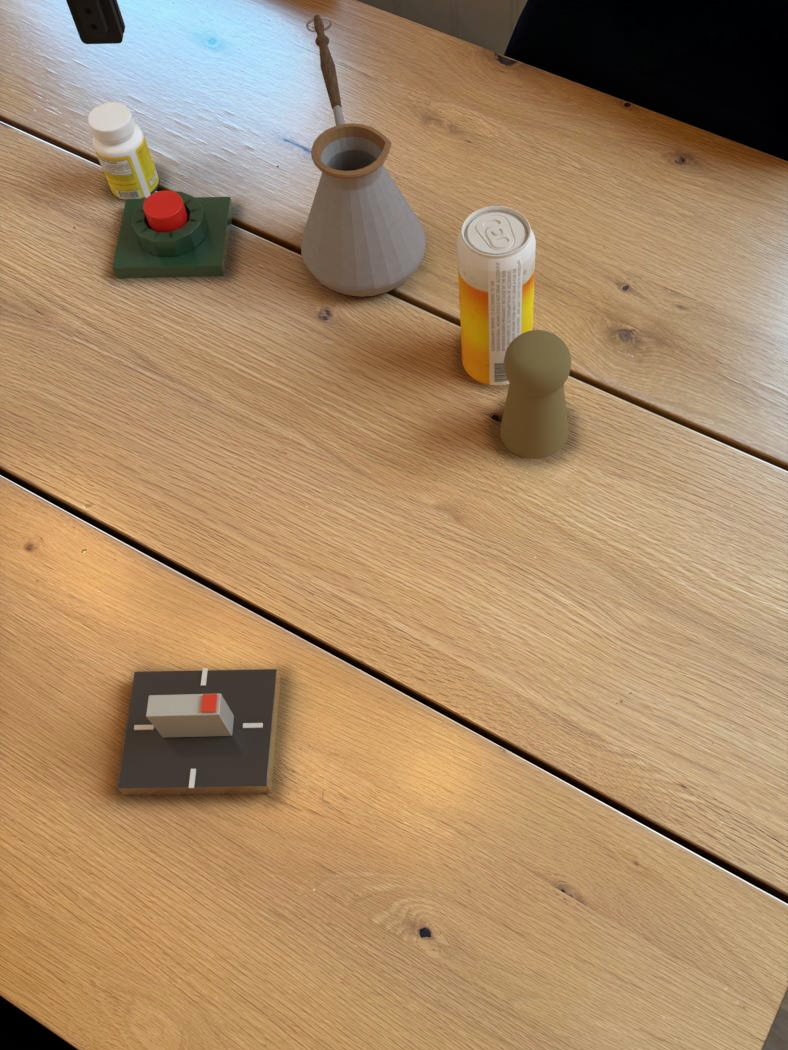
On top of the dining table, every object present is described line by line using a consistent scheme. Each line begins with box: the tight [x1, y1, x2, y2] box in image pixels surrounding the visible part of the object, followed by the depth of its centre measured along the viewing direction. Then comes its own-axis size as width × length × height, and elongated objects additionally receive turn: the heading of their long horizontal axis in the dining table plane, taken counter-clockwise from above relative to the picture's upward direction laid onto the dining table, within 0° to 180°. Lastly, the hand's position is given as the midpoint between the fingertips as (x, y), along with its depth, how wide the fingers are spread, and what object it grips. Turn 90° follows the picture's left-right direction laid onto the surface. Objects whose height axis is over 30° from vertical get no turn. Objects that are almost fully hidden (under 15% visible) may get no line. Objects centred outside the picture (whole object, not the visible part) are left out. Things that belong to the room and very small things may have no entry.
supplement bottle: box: [87, 101, 160, 202], centre depth 100 cm, size 5×5×8 cm
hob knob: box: [146, 694, 234, 738], centre depth 73 cm, size 5×2×4 cm, turn 91°
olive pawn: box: [499, 329, 572, 460], centre depth 84 cm, size 6×6×11 cm
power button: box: [143, 190, 188, 232], centre depth 96 cm, size 4×4×2 cm
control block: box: [111, 190, 234, 279], centre depth 98 cm, size 10×9×4 cm
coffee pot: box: [300, 14, 427, 298], centre depth 94 cm, size 21×12×15 cm, turn 13°
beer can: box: [456, 205, 537, 386], centre depth 86 cm, size 6×6×15 cm
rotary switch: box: [116, 667, 281, 796], centre depth 76 cm, size 10×9×3 cm
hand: (104, 36), depth 81 cm, fingers closed
